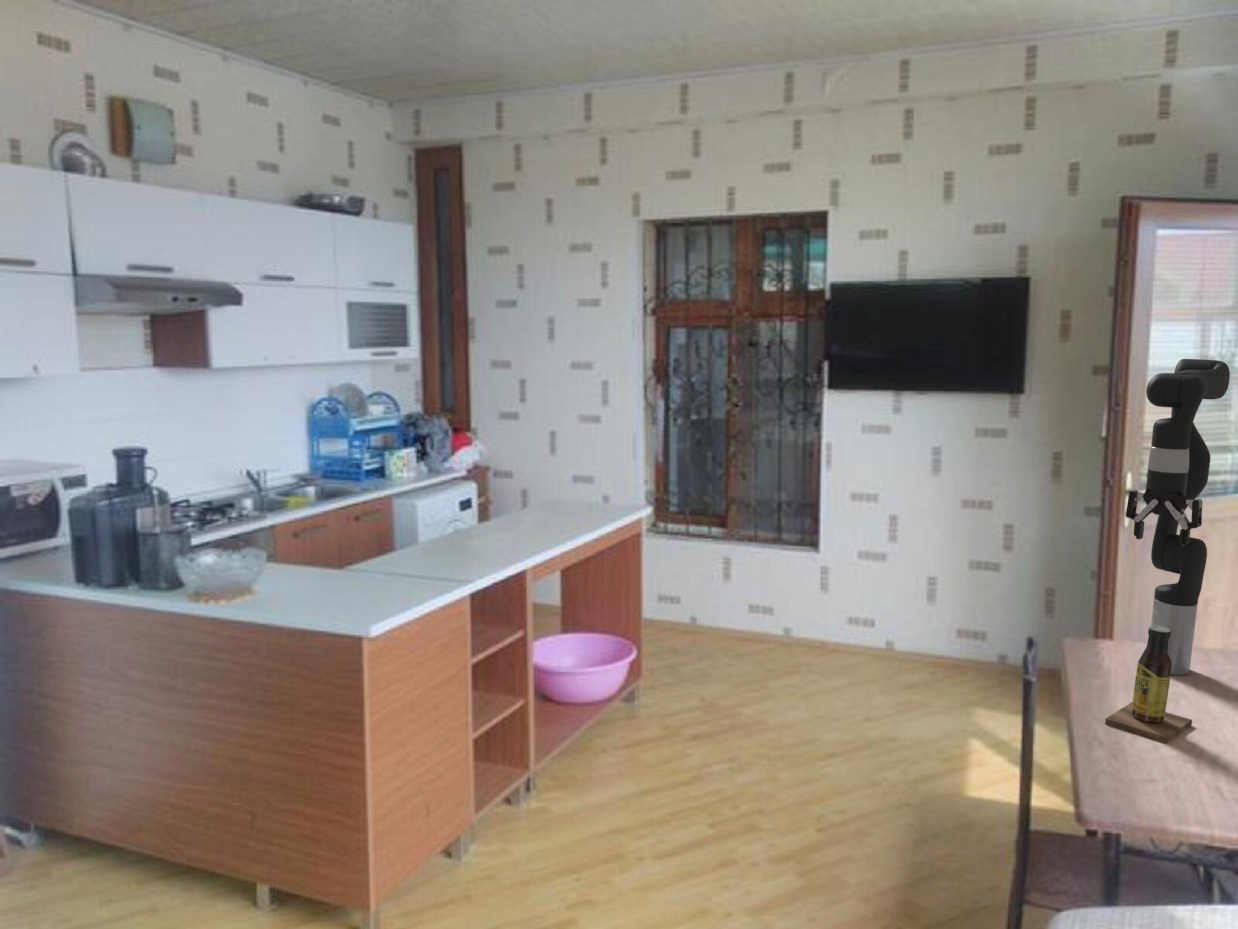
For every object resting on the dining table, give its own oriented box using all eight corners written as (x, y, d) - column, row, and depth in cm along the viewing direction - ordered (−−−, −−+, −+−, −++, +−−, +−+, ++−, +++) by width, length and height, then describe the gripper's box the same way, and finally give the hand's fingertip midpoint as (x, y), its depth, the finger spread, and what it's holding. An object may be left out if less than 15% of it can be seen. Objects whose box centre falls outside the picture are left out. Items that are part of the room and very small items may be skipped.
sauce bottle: (1125, 711, 209) (1136, 621, 206) (1156, 713, 208) (1167, 623, 205) (1138, 724, 203) (1149, 631, 199) (1170, 726, 202) (1181, 633, 199)
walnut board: (1131, 707, 214) (1132, 702, 214) (1191, 725, 206) (1192, 720, 205) (1105, 724, 205) (1105, 718, 205) (1166, 743, 196) (1167, 737, 196)
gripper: (1125, 466, 211) (1119, 539, 213) (1199, 474, 200) (1191, 551, 203) (1139, 462, 216) (1132, 533, 218) (1211, 470, 205) (1203, 545, 208)
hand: (1160, 542), depth 211 cm, fingers open, 8 cm apart
